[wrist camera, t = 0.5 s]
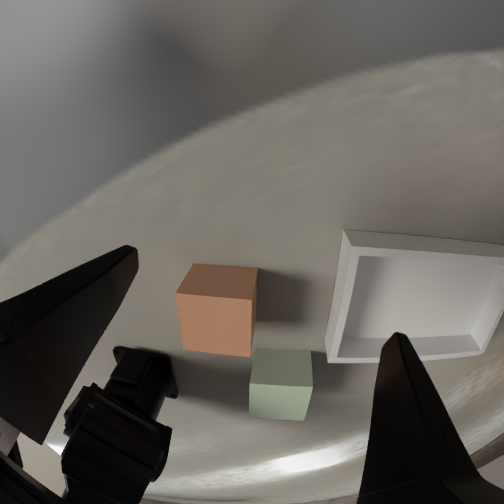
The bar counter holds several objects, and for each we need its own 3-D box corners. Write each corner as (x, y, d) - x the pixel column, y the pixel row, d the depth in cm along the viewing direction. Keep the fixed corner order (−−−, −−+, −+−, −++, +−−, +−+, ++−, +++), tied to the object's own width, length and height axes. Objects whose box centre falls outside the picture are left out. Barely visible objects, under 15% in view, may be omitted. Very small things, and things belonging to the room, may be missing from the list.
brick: (256, 320, 25) (250, 356, 21) (197, 315, 25) (183, 349, 21) (257, 267, 23) (251, 299, 19) (193, 262, 23) (175, 293, 19)
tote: (470, 335, 24) (482, 354, 21) (324, 339, 25) (327, 363, 22) (504, 245, 20) (522, 259, 17) (343, 229, 21) (351, 246, 18)
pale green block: (303, 385, 28) (304, 420, 24) (253, 382, 28) (248, 417, 24) (310, 349, 26) (313, 386, 22) (255, 346, 26) (249, 383, 22)
